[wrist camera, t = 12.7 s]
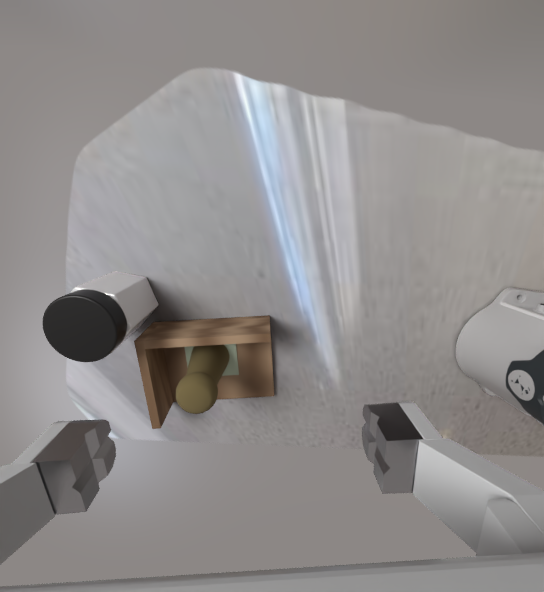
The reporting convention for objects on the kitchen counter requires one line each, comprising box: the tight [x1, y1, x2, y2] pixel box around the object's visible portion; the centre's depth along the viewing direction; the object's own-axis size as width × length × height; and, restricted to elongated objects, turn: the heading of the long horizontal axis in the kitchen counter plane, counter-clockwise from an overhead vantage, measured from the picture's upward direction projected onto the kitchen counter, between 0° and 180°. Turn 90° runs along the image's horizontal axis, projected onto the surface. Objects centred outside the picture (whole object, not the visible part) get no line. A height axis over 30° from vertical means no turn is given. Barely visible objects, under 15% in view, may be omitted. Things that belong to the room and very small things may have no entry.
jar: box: [43, 271, 158, 362], centre depth 37 cm, size 9×8×12 cm
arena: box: [134, 316, 274, 429], centre depth 43 cm, size 18×14×7 cm
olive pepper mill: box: [176, 345, 230, 414], centre depth 40 cm, size 6×6×11 cm
